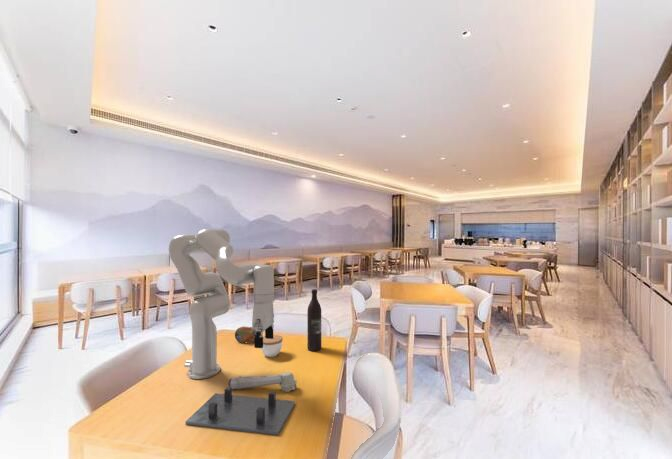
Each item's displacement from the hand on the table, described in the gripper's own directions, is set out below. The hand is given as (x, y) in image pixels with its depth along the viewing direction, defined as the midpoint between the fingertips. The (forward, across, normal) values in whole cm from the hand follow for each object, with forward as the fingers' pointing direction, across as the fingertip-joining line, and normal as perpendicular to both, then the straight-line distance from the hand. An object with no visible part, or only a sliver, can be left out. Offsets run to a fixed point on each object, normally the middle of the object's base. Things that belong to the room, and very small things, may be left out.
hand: (264, 342), depth 112 cm
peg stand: (+17, +16, 0) cm, 24 cm away
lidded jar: (+17, -30, -10) cm, 36 cm away
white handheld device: (+18, 0, -1) cm, 18 cm away
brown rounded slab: (+17, -43, -28) cm, 54 cm away
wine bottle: (+17, -40, +10) cm, 45 cm away
